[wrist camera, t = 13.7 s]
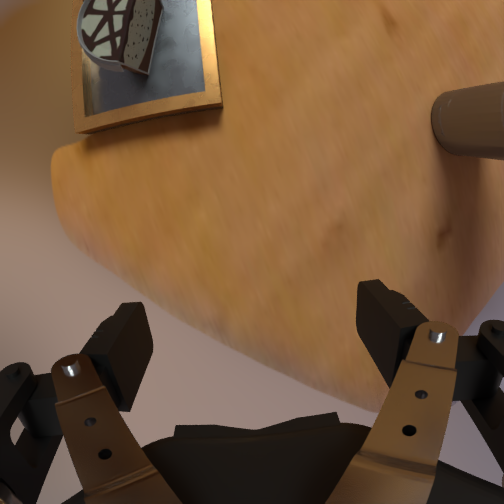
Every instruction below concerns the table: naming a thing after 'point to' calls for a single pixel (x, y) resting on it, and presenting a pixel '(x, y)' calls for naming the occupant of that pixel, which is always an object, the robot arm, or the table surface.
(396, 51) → the table surface
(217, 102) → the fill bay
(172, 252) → the table surface
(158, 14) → the food container
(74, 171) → the table surface
